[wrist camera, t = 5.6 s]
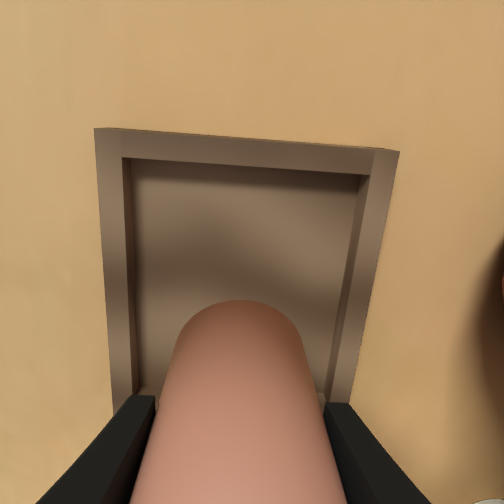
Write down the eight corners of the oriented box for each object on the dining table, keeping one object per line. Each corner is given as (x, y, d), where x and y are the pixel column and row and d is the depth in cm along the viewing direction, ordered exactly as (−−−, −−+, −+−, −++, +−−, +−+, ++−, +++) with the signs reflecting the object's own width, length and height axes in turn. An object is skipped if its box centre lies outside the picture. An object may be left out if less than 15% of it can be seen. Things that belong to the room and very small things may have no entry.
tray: (335, 400, 21) (344, 424, 19) (124, 392, 20) (113, 416, 19) (383, 148, 16) (400, 151, 15) (109, 127, 16) (93, 128, 14)
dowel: (297, 409, 13) (398, 920, 5) (175, 407, 13) (56, 935, 5) (310, 301, 12) (489, 763, 3) (173, 297, 12) (-12, 778, 3)
